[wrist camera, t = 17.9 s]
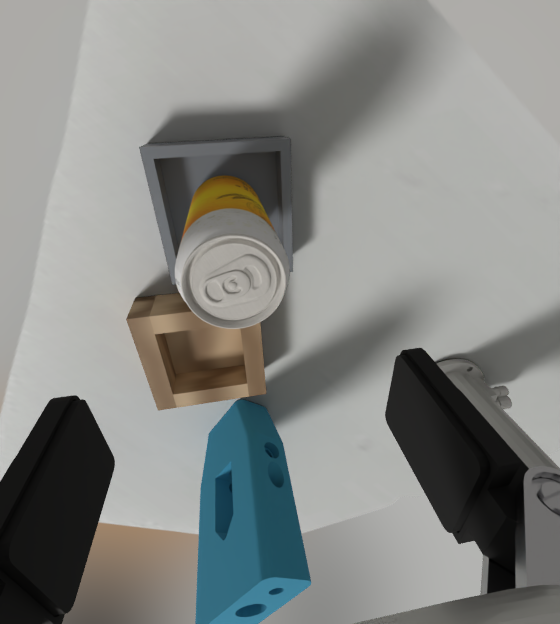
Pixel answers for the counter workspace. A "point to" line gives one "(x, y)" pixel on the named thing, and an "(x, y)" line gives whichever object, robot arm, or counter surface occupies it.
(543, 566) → the robot arm
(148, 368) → the shallow wooden box
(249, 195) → the beer can
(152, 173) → the tray
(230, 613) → the block
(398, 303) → the counter surface
